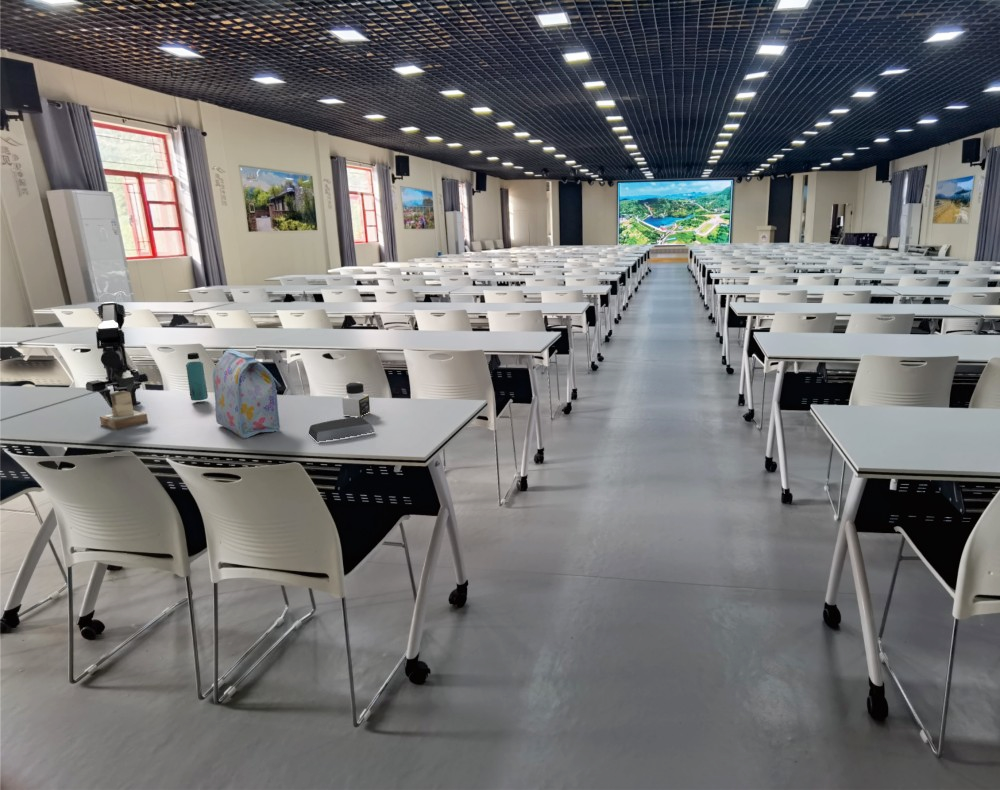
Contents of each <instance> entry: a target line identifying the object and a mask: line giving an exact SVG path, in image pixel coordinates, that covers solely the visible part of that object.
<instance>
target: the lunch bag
mask: <svg viewBox="0 0 1000 790" xmlns="http://www.w3.org/2000/svg"><path fill="white" fill-rule="evenodd" d="M254 357H255V356H253V355H248V354H247V353H245V352H240V351H239V350H235V349H234V348H232V349H228V350H226V351H224V353H223V354H222V356H221V357H220V359H219V361H218V362H217V363H216V364H215V366H214V368H213V371H212V383H213V391H214V401H215V403H214V404H215V420H216V423H217V424H218V425H220V426H221V427H224V428H226V429H227V430H230V431H231V432H233V433H235V434H236V435H238V436H239V437H240V438H242V439H247V438H250V437H252V436H255V435H256V434H259V433H260V434H261V433H269V432H273V433H275V432H274V431H276V432H279V431H280V429H281V426H280V417H279V415H280V414H279V407H278V406H279V405H278V392H277V387H278V388H280V387H281V386H282V385H281V383H279V381H277V379H276V378H275V377H274V376H273V375H272V373H271V372H270V371H269V370H268V369H267V368H266V367H265V366H264V365H263V364H262V363H261V362H260V361H259V360H256V359H254ZM278 430H279V431H278Z"/></svg>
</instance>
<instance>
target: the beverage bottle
mask: <svg viewBox="0 0 1000 790" xmlns="http://www.w3.org/2000/svg"><path fill="white" fill-rule="evenodd" d="M199 355H200V354H199V353H198V352H190V353H187V360H192V361H188V362H187V363H186V364H185V368H186V373H187V374H186V375H187V383H188V389H189V397H190V400H191V401H194V402H196V401H197V402H198V401H205V400H207V399H208V397H209V394H208V388H207V381H206V377H205V369H204V368H205V367H204V363H203V362H202V361H200V360H198V359H200V356H199Z"/></svg>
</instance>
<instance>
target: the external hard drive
mask: <svg viewBox="0 0 1000 790" xmlns="http://www.w3.org/2000/svg"><path fill="white" fill-rule="evenodd" d="M372 432H375V429H374V426H373V425H372V423H370V422H369V421H368V420H366V419H365V418H364V417H357V418H353V417H345V418H340V419H332V420H328V421H323V422H319V423H315V424H312V425H310V426H309V429H308V433H309V434H310V435H311V436H312V437H313V438H314V439H315V440H316V441H317V442H319V441H326V440H333V439H340V438H345V437H350V436H357V435H361V434H367V433H372ZM375 433H376V432H375ZM309 434H308V435H309Z"/></svg>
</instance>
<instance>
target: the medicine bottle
mask: <svg viewBox="0 0 1000 790" xmlns="http://www.w3.org/2000/svg"><path fill="white" fill-rule="evenodd" d="M345 386H346V388H345V390H346V396H344V397H342V398H341V402H342V412H343V413H342V414H343V415H349V416H358V417H361V416H362V415H364V414H366V413H368V412H370V413H371V407H370V406H371V405H370V395H369V394H365V391H364V384H363V383H362V382H360V381H353V382H349V383H347V384H346V385H345ZM343 415H342V416H343Z"/></svg>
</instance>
